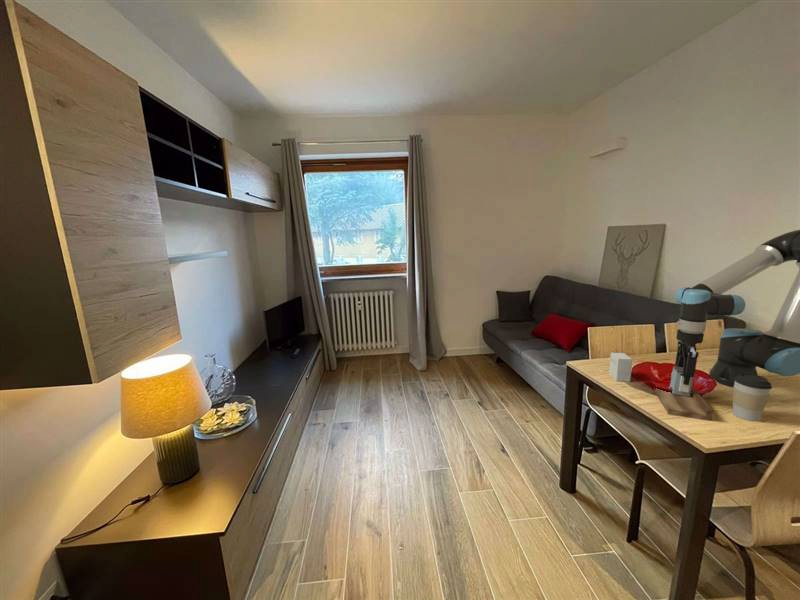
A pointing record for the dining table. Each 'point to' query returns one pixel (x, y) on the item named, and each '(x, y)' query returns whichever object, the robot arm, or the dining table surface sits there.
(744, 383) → the coffee cup
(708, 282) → the robot arm
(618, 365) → the small box
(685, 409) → the board
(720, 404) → the dining table surface
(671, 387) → the grey tall block
